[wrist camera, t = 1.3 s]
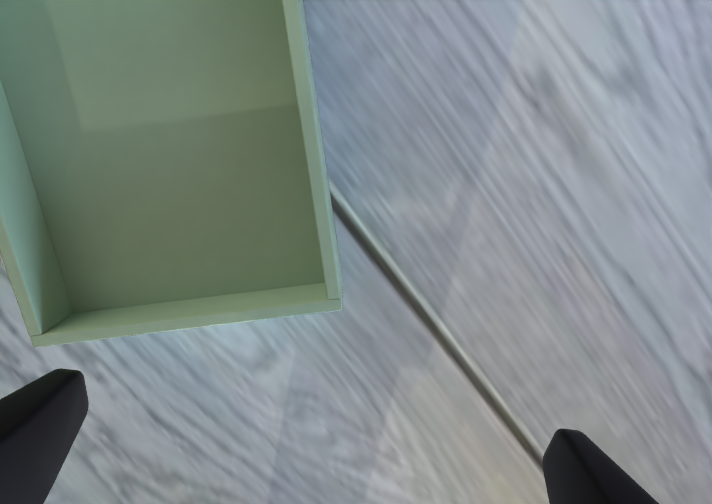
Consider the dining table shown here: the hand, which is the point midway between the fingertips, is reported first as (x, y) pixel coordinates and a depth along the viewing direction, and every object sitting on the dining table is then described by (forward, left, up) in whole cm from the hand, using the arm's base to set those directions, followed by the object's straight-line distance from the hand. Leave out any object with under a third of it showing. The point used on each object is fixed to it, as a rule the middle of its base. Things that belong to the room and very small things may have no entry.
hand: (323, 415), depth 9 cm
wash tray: (+1, +9, -14) cm, 17 cm away
